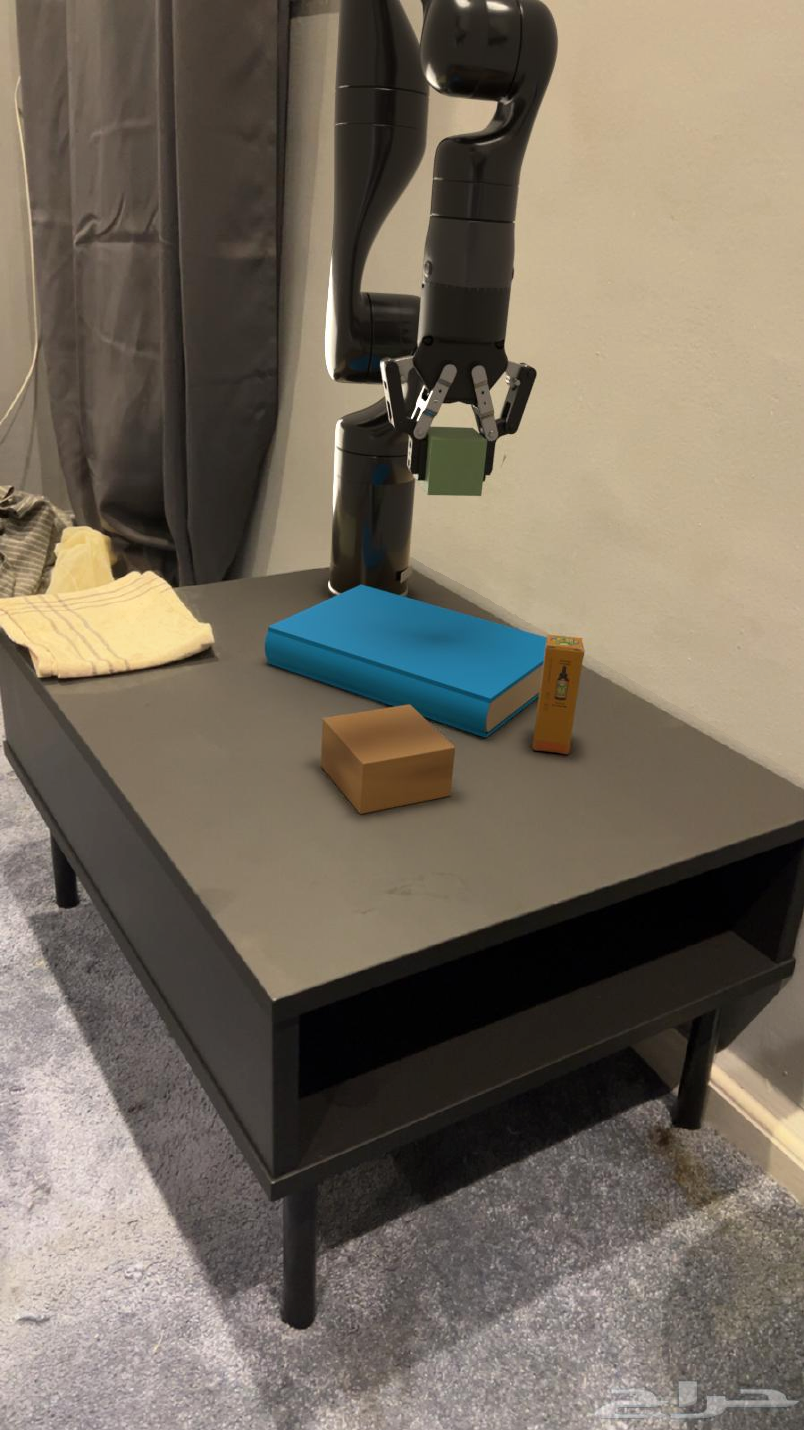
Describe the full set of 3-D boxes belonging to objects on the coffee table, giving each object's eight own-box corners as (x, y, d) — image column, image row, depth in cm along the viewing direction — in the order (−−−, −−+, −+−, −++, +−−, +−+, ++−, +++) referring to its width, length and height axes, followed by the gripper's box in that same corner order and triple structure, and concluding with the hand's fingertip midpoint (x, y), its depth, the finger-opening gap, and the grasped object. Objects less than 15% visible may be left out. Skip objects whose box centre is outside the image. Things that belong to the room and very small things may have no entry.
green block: (415, 480, 98) (420, 425, 96) (467, 481, 99) (473, 427, 97) (427, 495, 94) (432, 438, 91) (481, 496, 95) (487, 440, 92)
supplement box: (569, 738, 95) (586, 636, 90) (568, 756, 92) (585, 651, 87) (532, 733, 95) (547, 631, 91) (530, 751, 92) (545, 646, 88)
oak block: (320, 765, 87) (322, 717, 85) (406, 750, 91) (410, 703, 89) (360, 814, 81) (363, 763, 79) (450, 796, 84) (455, 747, 82)
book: (359, 583, 116) (568, 638, 105) (357, 620, 118) (563, 678, 107) (262, 628, 103) (490, 696, 91) (262, 668, 104) (485, 740, 93)
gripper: (534, 279, 93) (512, 470, 101) (375, 269, 90) (364, 467, 98) (562, 288, 86) (535, 492, 94) (391, 278, 83) (378, 489, 91)
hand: (448, 478), depth 96 cm, fingers closed on green block, 5 cm apart
